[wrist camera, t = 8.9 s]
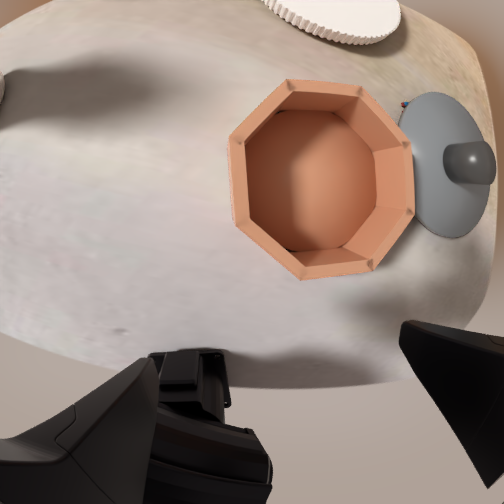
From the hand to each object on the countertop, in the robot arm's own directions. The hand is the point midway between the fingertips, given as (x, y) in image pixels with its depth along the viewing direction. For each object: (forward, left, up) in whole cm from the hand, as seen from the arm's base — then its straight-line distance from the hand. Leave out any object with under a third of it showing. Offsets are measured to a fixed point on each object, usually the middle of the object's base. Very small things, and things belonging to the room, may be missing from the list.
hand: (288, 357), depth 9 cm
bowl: (+6, -5, -12) cm, 14 cm away
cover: (+8, -19, -11) cm, 23 cm away
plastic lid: (+25, -9, -13) cm, 29 cm away
